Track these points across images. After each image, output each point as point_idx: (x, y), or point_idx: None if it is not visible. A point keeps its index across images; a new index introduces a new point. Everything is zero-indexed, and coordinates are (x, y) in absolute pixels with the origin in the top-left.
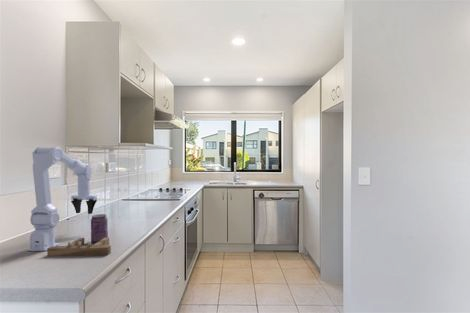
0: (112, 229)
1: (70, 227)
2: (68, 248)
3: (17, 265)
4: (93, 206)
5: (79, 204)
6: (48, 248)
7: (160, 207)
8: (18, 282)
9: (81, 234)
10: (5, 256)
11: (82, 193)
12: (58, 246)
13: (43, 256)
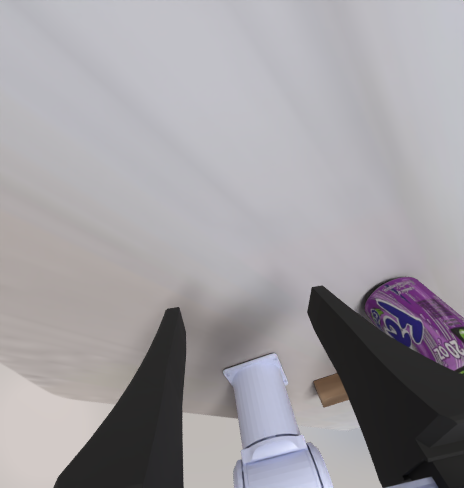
0: (369, 122)
1: (5, 173)
2: None
3: (297, 416)
4: (380, 339)
5: (170, 408)
6: (325, 406)
7: None
8: (352, 424)
9: (253, 263)
10: (225, 416)
11: None
12: (340, 396)
13: (308, 391)
